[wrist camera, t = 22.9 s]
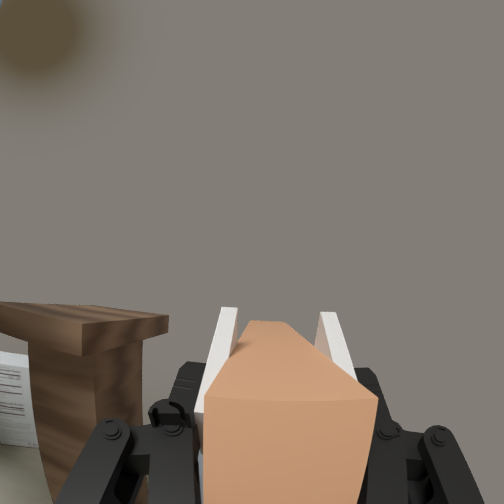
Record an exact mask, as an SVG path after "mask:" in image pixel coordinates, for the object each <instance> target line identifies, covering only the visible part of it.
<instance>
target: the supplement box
mask: <svg viewBox="0 0 504 504" xmlns="http://www.w3.org/2000/svg"><path fill="white" fill-rule="evenodd" d="M0 442H1V444H7V445H15V446H24V447H35V448H39V445H38V440H37V435H36V429H35V422H34V415H33V408H32V399H31V389H30V377H29V359H28V355H21V354H14V353H7V352H1V351H0Z"/></svg>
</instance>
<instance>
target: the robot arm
mask: <svg viewBox="0 0 504 504" xmlns="http://www.w3.org/2000/svg"><path fill="white" fill-rule="evenodd" d="M1 4H2V0H0V7H1ZM237 317H238V308H230V307H222V308H221V312H220V316H219V319H218V323H217V327H216V330H215V334H214V338H213V341H212V345H211V349H210V353H209V356H208V360H207V363H197V362H188V361H187V362H186V363H185V364H184V365H183V366H182V367H181V368H180V369H179V371H178V374H177V377H176V380H175V382H174V386H173V388H172V390H171V393H170V396H169V399H162V400H160V401H157V402H155V403H154V404H153V405H152V406H151V407H150V409H149V411H148V415H149V418H150V421H151V424H149V425H142V426H129V425H128V424H127V423H126V422H125V421H123V420H121V419H119V418H107V419H104V420H102V421H100V422H99V423H98V424H97V425H96V426H95V428H94V430H93V432H92V433H91V435H90V437H89V439H88V440H87V442H86V444H85V446H84V448H83V449H82V451H81V453H80V455H79V457H78V459H77V460H76V462H75V464H74V466H73V468H72V470H71V471H70V473H69V475H68V477H67V479H66V481H65V483H64V485H63V487H62V488H61V490H60V492H59V494H58V496H57V498H56V500H55V502H54V504H134V503H135V500H136V498H137V495H138V492H139V490H140V487H141V484H142V482H143V479H144V476H145V475H148V474H149V483H148V504H201V491H200V476H199V463H198V455H199V451H200V453H201V454H203V420H204V395H205V393H206V392H207V390H208V389H209V387H210V385H211V384H212V382H213V381H214V379H215V378H216V376H217V374H218V373H219V371H220V370H221V368H222V366H223V365H224V363H225V361H226V360H227V359H228V358H229V357H230V355H231V353H232V352H233V350H234V348H235V347H236V345H237ZM314 347H315V348H316V349H317V350H319V351H320V352H321V353H322V354H324V355H325V356H326V357H327V358H328V359H330V360H331V361H332V362H334V363H335V364H336V365H338V366H339V367H340V368H341V369H343V370H344V371H345V372H346V373H348V374H349V375H350V376H351V377H353V378H354V379H355V380H356V381H358V382H359V383H360V384H361V385H363V386H364V387H365V388H367V389H368V390H369V391H370V392H372V393H373V394H374V395H375V396H377V397H378V405H377V412H376V418H375V424H374V430H373V435H372V441H371V446H370V451H369V456H368V460H367V465H366V469H365V473H364V478H363V482H362V486H361V490H360V493H359V497H358V501H357V504H484V501H483V499H482V496H481V494H480V492H479V489H478V487H477V484H476V482H475V480H474V478H473V475H472V473H471V471H470V469H469V467H468V464H467V462H466V460H465V458H464V456H463V454H462V452H461V450H460V448H459V446H458V443H457V441H456V439H455V437H454V436H453V434H452V432H451V431H450V430H449V429H447V428H446V427H443V426H440V425H437V426H432V427H429V428H428V429H427V430H426V431H425V433H418V432H409V431H405V430H403V429H402V427H401V426H400V425H399V424H398V423H396V422H395V421H393V420H392V419H391V416H390V413H389V410H388V408H387V405H386V402H385V399H384V396H383V394H382V391H381V388H380V386H379V383H378V380H377V377H376V375H375V374H374V373H373V372H372V371H371V370H370V369H369V368H353V365H352V362H351V358H350V355H349V352H348V348H347V345H346V342H345V339H344V336H343V333H342V330H341V327H340V324H339V321H338V318H337V315H336V312H320V318H319V324H318V329H317V335H316V340H315V346H314Z"/></svg>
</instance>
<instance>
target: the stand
mask: <svg viewBox="0 0 504 504" xmlns="http://www.w3.org/2000/svg"><path fill="white" fill-rule="evenodd" d="M168 323H169V315H164V314H155V313H145V312H138V311H130V310H123V309H115V308H108V307H101V306H95V305H58V304H34V303H15V302H0V332H1V333H4V334H6V335H9V336H12V337H15V338H18V339H21V340H24V341H28V359H29V377H30V389H31V399H32V408H33V415H34V422H35V429H36V435H37V440H38V445H39V450H40V455H41V460H42V464H43V468H44V472H45V476H46V480H47V484H48V487H49V491H50V494H51V497H52V501H53V504H54V502H55V500H56V498H57V496H58V494H59V492H60V490H61V488H62V487H63V485H64V483H65V481H66V479H67V477H68V475H69V473H70V471H71V470H72V468H73V466H74V464H75V462H76V460H77V459H78V457H79V455H80V453H81V451H82V449H83V448H84V446H85V444H86V442H87V440H88V439H89V437H90V435H91V433H92V432H93V430H94V428H95V426H96V425H97V424H98V423H99V422H100V421H102V420H104V419H107V418H119V419H121V420H123V421H125V422H126V423H127V424H128V425H129V426H142V425H143V418H142V345H143V340H144V339H147V338H151V337H155V336H158V335H161V334H165V333H168ZM134 504H148V489H147V480H146V475H145V476H144V479H143V482H142V484H141V487H140V490H139V492H138V495H137V498H136V500H135V503H134Z"/></svg>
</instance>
